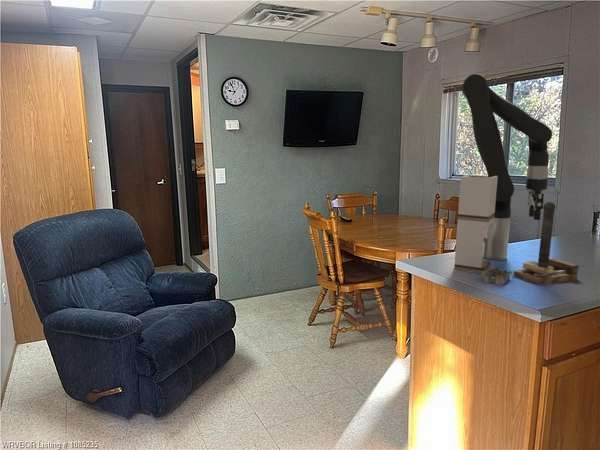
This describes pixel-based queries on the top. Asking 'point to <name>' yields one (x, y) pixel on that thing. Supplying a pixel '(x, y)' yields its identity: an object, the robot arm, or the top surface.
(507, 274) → the egg carton
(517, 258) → the top surface
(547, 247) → the knob-topped lever
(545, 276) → the press base
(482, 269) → the display case
